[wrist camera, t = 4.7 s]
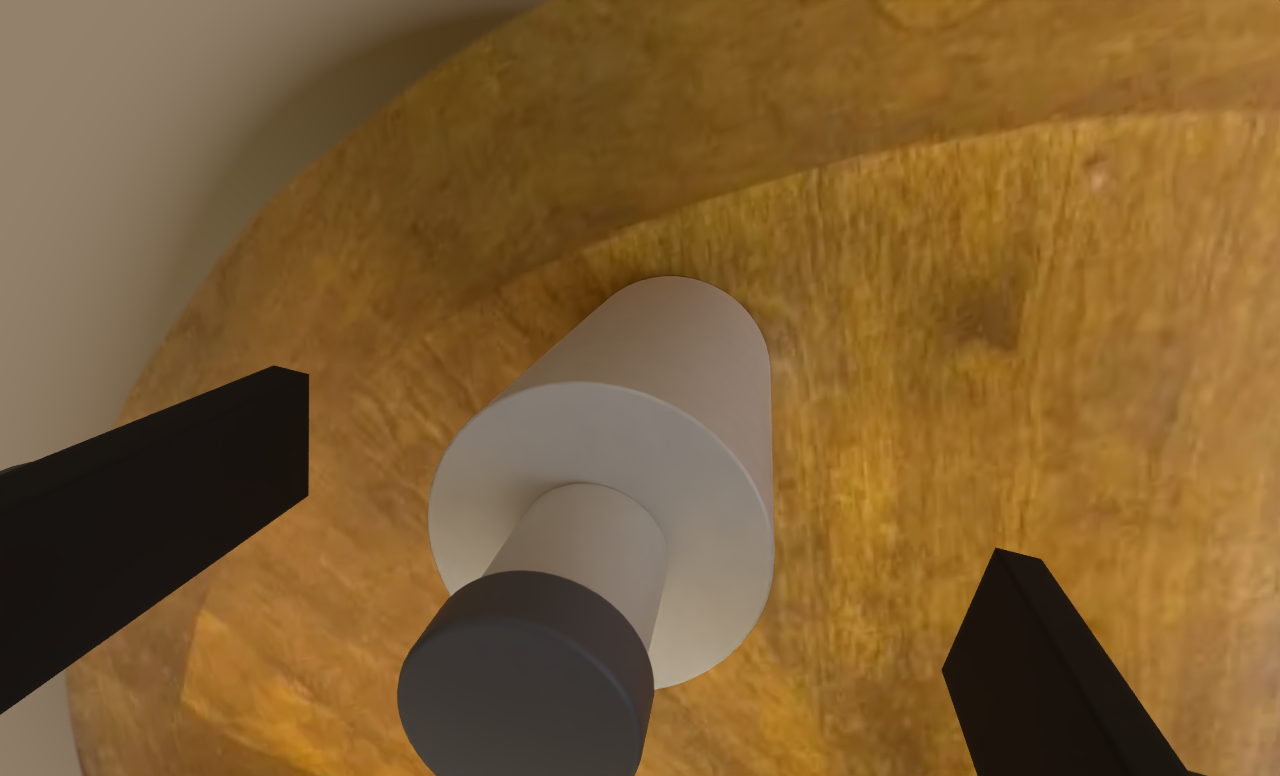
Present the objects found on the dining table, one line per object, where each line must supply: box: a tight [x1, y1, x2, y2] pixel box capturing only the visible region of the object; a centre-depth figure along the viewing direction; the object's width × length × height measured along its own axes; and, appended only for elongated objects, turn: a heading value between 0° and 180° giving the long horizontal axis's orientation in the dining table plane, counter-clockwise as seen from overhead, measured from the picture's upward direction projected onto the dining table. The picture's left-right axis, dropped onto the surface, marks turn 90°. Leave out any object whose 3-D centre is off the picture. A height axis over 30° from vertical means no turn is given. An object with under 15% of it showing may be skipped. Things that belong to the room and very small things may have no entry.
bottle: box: [397, 276, 775, 776], centre depth 14 cm, size 6×6×14 cm
